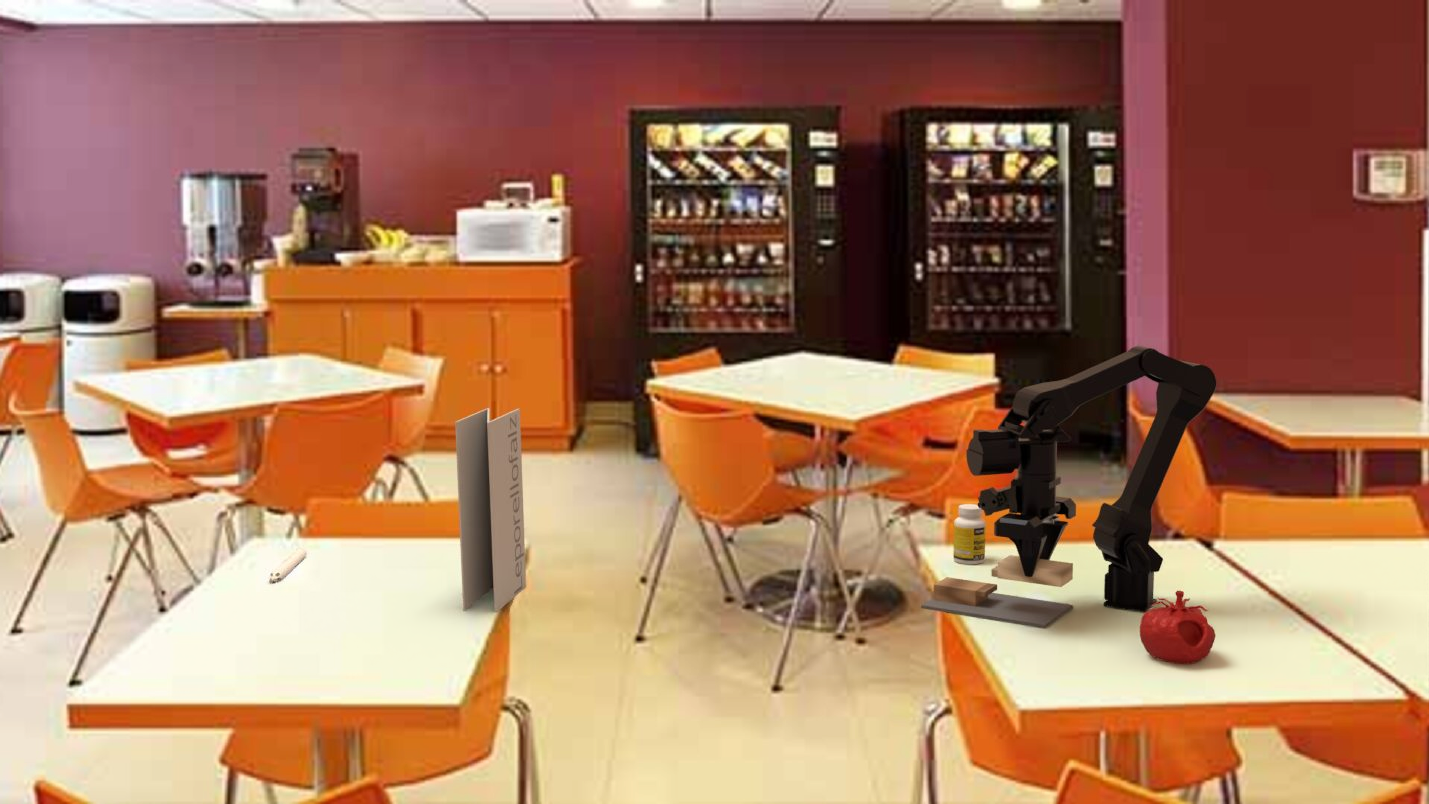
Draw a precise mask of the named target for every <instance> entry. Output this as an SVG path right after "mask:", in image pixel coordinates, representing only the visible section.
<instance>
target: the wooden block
mask: <svg viewBox="0 0 1429 804" xmlns="http://www.w3.org/2000/svg"><path fill="white" fill-rule="evenodd" d="M997 590H998V584H995V583H989V582H983V581H976V580H975V581H974V580H969V579H963V578H955V577H948V576H947V577H944V578H943V579H941V580H940V581H938V582H936V583H934V584H933V598H934V600H937V601H943V602H950V603H956V604H962V605H968V606H977V605H979V604H980V603H982V602H983V601H985V600H987V599H988V595H989V594H991V593H995V592H996V591H997Z"/></svg>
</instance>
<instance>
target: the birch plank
mask: <svg viewBox="0 0 1429 804" xmlns="http://www.w3.org/2000/svg"><path fill="white" fill-rule="evenodd" d="M990 575H991V577H993V578H997V579H1002V580H1008V581H1015V582H1021V583H1030V584H1037V585H1042V586H1050V587H1058V588H1062V587H1063V586H1065V585H1066V584H1068V583H1070V582H1071V581H1072V580H1073V577H1074V576H1073V575H1074V563H1072V562H1065V561H1057V560H1051V559H1050V560H1044V559H1039V560H1038V563H1037V566H1036V569H1035V571H1034V574H1033V576H1032V577H1027V576H1025V574H1024V571H1023V567H1022V564H1021V561H1020V557H1019V555H1013V554H1010V555H1008V556H1006V557H1004V558H1003V559H1001V560H999V561H997V566H994V567H993V568H991V574H990Z"/></svg>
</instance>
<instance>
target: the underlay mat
mask: <svg viewBox="0 0 1429 804" xmlns="http://www.w3.org/2000/svg"><path fill="white" fill-rule="evenodd" d="M920 608H921V609H925V610H931V611H937V612H941V613H948V614H955V615H961V616H966V617H967V616H968V617H972V618H973V617H974V618H980V619H986V620H992V621H998V622H1003V623H1004V622H1005V623H1010V624H1011V623H1012V624H1017V625H1022V626H1023V625H1024V626H1029V627H1035V628H1041V629H1046V628H1048V627H1049V626H1050V625H1052V624H1053V623H1055V622H1056V621H1057V620H1058V619H1060V618H1061V617H1062V616H1064V615H1065V614H1067V613H1068V612H1070V611H1071V610H1073V608H1074V604H1070V603H1063V602H1056V601H1051V600H1050V601H1049V600H1043V599H1038V598H1031V597H1025V596H1018V595H1010V594H1004V593H998V592H992V593H991V594H989V595H988V599H987V600H985V601H983V602H982V603H980V604H979V605H977V606H968V605H962V604H956V603H950V602H943V601H937V600H934V597H933V598H931V599H929V600H927V601H926V602H924V603H922V604H921V605H920Z"/></svg>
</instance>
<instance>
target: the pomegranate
mask: <svg viewBox="0 0 1429 804" xmlns="http://www.w3.org/2000/svg"><path fill="white" fill-rule="evenodd" d="M1184 595H1185V592H1184V591H1182V590H1176V591H1175V596H1176V600H1175V603H1174V602H1172V601H1169V600H1167V599H1166V598H1159V597H1157V599H1158V600H1159V601H1157V602H1156V603H1155V604H1153V605H1149V606H1152V607H1153V606H1156V605H1158V604H1162V605H1163V606H1162V607H1161V606H1160V607H1156V608H1152V609H1150V610H1149V609H1148V610H1147V611H1145V612H1144V613H1143V615H1142V617H1141V621H1140V625H1139V637H1140V640H1141V644H1142V645H1143V647H1144V649H1145V651H1146V652H1147V653H1148V654H1149V655H1150V656H1151V657H1154V658H1155V659H1157V660H1160V661H1164V662H1167V663H1173V664H1178V665H1179V664H1181V665H1191V664H1195V663H1198V662H1200V661H1201V660H1204V659H1206V658H1207V657H1208V655H1210V653H1211V650H1212V649H1213V646H1214V643H1215V640H1216V632H1215V629H1214V628H1213V626H1212V625H1211V624H1209V621H1208V619H1207V616H1205V615H1204V614H1203V612H1202V610H1203V611H1204V612H1207V611H1209V609H1205V607H1204V606H1203V605H1196V606H1186V603H1187V602H1190V599H1191V598H1190V597H1188V598H1184ZM1183 598H1184V599H1183ZM1164 601H1165V602H1166V603H1165V602H1164ZM1168 604H1169V605H1168ZM1201 609H1202V610H1201Z"/></svg>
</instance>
